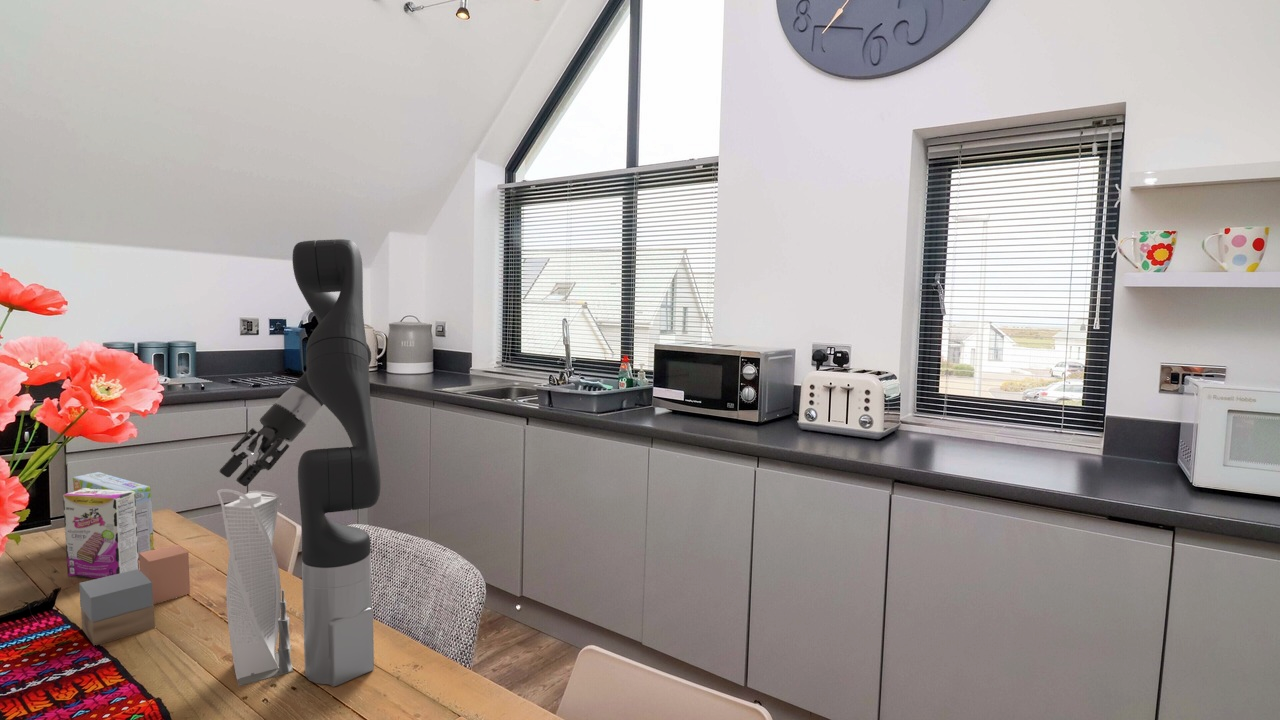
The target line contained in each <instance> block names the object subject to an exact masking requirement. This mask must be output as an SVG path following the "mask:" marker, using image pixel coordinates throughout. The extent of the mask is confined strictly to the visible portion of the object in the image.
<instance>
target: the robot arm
mask: <svg viewBox="0 0 1280 720" xmlns="http://www.w3.org/2000/svg"><path fill="white" fill-rule="evenodd" d="M292 271H293V275H294V277H295V278H294V279H295V281H296V283H297V287H298V289H299V291H300V292H301V294H302V296H303V298H304V299H305V301H306V303H307V304H308V306H309V308H310V309H311V311H312V312H313V314H314V316H315V318H316V320H317V323H318V324H317V326H316V327H315V328H314V330H312V333H311V334H310V336H309V338H308V340H307V342H306V343H307V344H306V347H305V360H306V364H305V365H306V369H305V371H304V372H303V374H302V375H301V376H300V377H299V378H298V380H296V382H294V383H293V385H292V386H291V387H290V388H289V389H287V390H286V391H285V392H284V393H283V394H282V395H281V396H280V397H279V398H278V399H277V400H275V402H274V403H273V404H272V405H271V407H270V408H268V410H266V412H265V413H264V414H263V415H262V416H261V417H260V418H259V423H260V424H261V425H262V428H261V429H260V430H257V429H256V428H255V427H253V428H251V429H250V430H248V431H247V432H246V434H245V435H244V436H243V437H242V438H241V439H239V441H238V442H237V443H236V444H235V445H234V446H233V447H232V448H231V449H230V452H231V457H230V458H229V459H228V460H227V461H226V462H225V463H224V465H222V467H221V468H220V469H219V471H218V472H219V473H220V474H221V475H222V476H224V477H225V478H231V476H232V475H233V474H234V473H235V472H236V471H237V470H238V469H239V467H240V466H241V465H242V464H243V463H244V462H245V461H247V460H249V459H251V458H252V461H251V463H250V464H248V466H246V468H245V469H244V470H243V471H242V472H241V473H240V474H239V475H238V477H237V478H236V482H237V483H238V484H239V485H242V486H243V487H248V486H249V484H251V483H252V481H253V480H254V479H255V478H256V477H257V476H258V475H259V473H261V472H263V471H265V470H266V471H270V470H271V469H272V468H273V467H274V465H275V464H277V462H278V461H279V460H280V458H281V457H282V456H284V454H285V453H286V451H287V450H288V449H289V448H290V445H289V444H288V443H292V442H293V441H294V440H295V439H297V437H298V436H299V435H300V433H301V432H303V430H304V429H305V428H306V427H307V426H308V424H309V423H310V422H311V421H312V420H313V419H314V417H315V416H316V415H317V413H318V412H319V410H320V409H321V408H322V407H323V405H324V406H325V407H326V408H327V409H328V410H329V412H330V413H332V414H333V415H334V416H335V417H336V419H337V420H338V421H339V422H340V424H341V425H342V426H343V428H344V430H345V432H346V433H347V435H348V438H349V440H350V442H351V443H350V444H351V445H352V446H343V447H342V446H341V447H330V448H316V449H309V450H305V451H304V452H303V453H302V455H301V456H300V458H299V462H298V465H297V466H298V467H297V484H298V485H297V486H298V495H299V496H298V497H299V507H300V509H299V510H300V519H301V577H302V580H301V581H302V582H301V583H302V584H301V585H302V612H303V615H302V618H303V622H302V623H303V652H304V676H305V677H306V679H307V680H308V681H310V682H311V683H315V684H320V685H321V684H322V685H330V686H332V687H336V686H337V687H338V686H339V685H341V684H344V683H346V682H349V681H351V680H353V679H356V678H358V677H360V676H362V675H365V674H367V673H370V672H371V671H373V670H375V656H374V655H375V654H374V653H375V652H374V651H375V649H374V646H375V645H374V644H375V642H374V610H373V608H372V578H371V577H372V576H371V575H372V573H371V572H372V567H371V564H372V563H371V562H372V561H371V560H372V559H371V556H372V555H371V547H372V545H371V538H370V535H369V533H368V531H365V530H364V529H361V528H359V527H355V526H350V525H345V524H341V523H339V522H336V521H334V520H332V519H330V518H328V517H327V516H326V515H325V514H329V513H337V512H339V513H340V512H346V511H358V510H363V509H368V508H372V507H373V506H375V505H376V504H377V502H378V501H379V498H380V493H381V472H380V463H379V456H378V455H379V454H378V449H377V442H376V437H375V436H376V435H375V431H374V423H373V415H372V407H371V390H370V389H371V387H370V364H371V362H372V350H371V347H370V346H369V344H368V343H367V337H366V335H367V334H366V328H365V320H364V300H363V299H364V295H363V293H364V291H363V290H364V285H363V284H364V283H363V282H364V280H363V279H364V277H363V276H364V275H363V271H364V270H363V259H362V255H361V251H360V248H359V246H358V245H357V244H356V243H355V241H353V240H350V239H341V238H337V239H316V240H303V241H299V242H297V243H296V244H295V245H294V247H293V249H292ZM338 292H339V294H338V297H337V296H336V295H334V293H338Z"/></svg>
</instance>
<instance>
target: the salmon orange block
mask: <svg viewBox="0 0 1280 720" xmlns="http://www.w3.org/2000/svg"><path fill="white" fill-rule="evenodd" d="M189 560H190V558H189V551H188V550H186V549H184V548H183V546H181V545H179V544H178V543H176V544H172V545H167V546H163V547H158V548H154V550H150V551H145V552H141V553H139V560H138V562H139V570H140V571H141V572H142V573H143V574H144V575H145V576H146V577H147V578H148V579H149V580H150V581H151V582H152V592H153V604H154V605H157V604H156V603H158V604H161V603H164V602H163V601H165V602H167V601H166V600H168V601H170V600H169V599H172V600H174V599H173V598H175V599H177V598H176V597H179V598H181V597H180V596H182V595H186V596H188V595H187V594H190V595H191V584H190V562H189ZM160 602H161V603H160Z"/></svg>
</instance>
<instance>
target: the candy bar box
mask: <svg viewBox="0 0 1280 720" xmlns="http://www.w3.org/2000/svg"><path fill="white" fill-rule="evenodd" d="M62 499H63V501H62V502H63V516H64V517H63V518H64V533H65V534H64V535H65V547H66V548H65V549H66V563H67V564H66V567H67V576H68V577H75V578H87V579H89V578H90V579H98V578H103V577H107V576H111V575H115V574H119V573H124V572H128V571H132V570H136V569H139V570H140V564H139V560H138V543H137V522H136V500H135V491H121V490H106V489H92V488H83V489H80V490H76V491H74V490H73V491H71V492H67V493H65V494H63V495H62Z"/></svg>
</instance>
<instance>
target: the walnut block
mask: <svg viewBox="0 0 1280 720" xmlns="http://www.w3.org/2000/svg"><path fill="white" fill-rule="evenodd" d="M80 615H81V619H80V620H81V629H82V632H83V633H84V634H85V635H86V637H87V639H88V640H89V641H90V642H91V644H92V645H93V646H94V647H95V645H96V646H99V645H103V644H105V643H108V642H112V641H115V640H118V639H119V640H120V639H122V638H123V639H124V638H126V637H129V636H132V635H136V634H139V633H143V632H146V631H148V630H152V629H156V618H155V606H154V605H153V606H151V607H147V608H144V609H140V610H136V611H133V612H129V613H125V614H122V615H118V616H114V617H111V618H107V619H103V620H100V621H96V622H91V621H90V619H89V618H88V617H87V615H86V614H85V612H84V611H83V609H82V608H81V607H80Z"/></svg>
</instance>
